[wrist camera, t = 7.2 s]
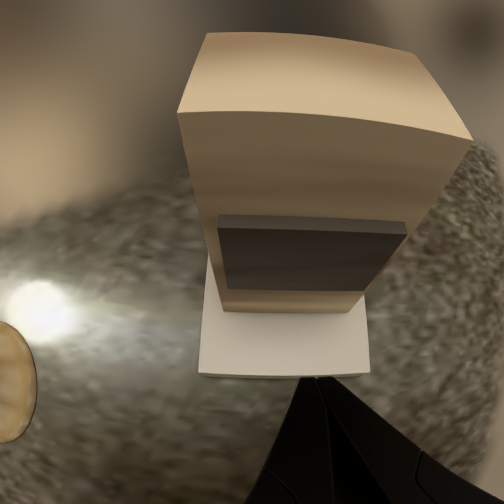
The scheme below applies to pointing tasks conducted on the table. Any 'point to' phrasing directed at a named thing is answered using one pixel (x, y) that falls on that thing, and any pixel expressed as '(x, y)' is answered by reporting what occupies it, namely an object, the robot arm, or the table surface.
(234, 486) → the table surface
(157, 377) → the table surface
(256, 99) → the tan tall block
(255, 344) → the base
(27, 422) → the hand bell
